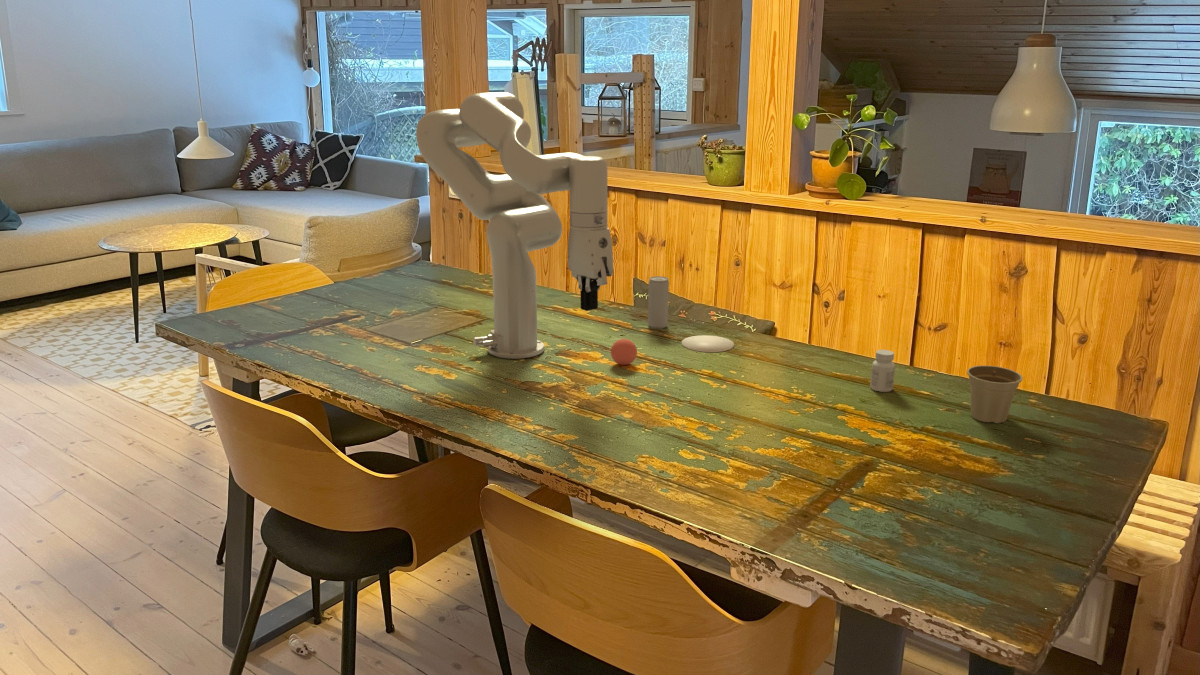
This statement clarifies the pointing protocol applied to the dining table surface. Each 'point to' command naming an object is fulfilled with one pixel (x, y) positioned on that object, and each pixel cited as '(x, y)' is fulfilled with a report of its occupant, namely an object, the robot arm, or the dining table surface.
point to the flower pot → (992, 392)
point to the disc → (707, 343)
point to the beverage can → (658, 302)
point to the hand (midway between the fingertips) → (589, 308)
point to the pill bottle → (883, 371)
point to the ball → (623, 351)
